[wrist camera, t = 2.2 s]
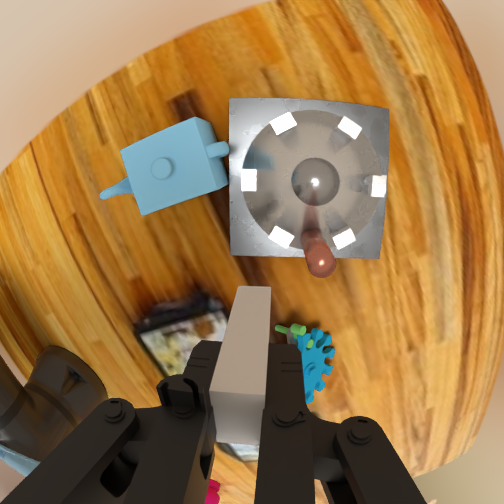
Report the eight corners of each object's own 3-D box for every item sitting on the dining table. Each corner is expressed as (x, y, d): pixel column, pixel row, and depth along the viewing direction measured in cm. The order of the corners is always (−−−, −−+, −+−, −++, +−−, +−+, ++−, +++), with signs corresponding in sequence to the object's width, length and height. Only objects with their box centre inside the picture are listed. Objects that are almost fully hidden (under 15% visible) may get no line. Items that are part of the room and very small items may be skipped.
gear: (338, 383, 33) (285, 427, 27) (305, 370, 38) (251, 406, 32) (337, 308, 31) (275, 346, 25) (299, 300, 36) (237, 330, 30)
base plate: (233, 248, 30) (230, 255, 28) (232, 102, 25) (229, 98, 23) (373, 252, 29) (379, 259, 27) (381, 111, 24) (389, 108, 22)
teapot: (142, 212, 29) (105, 231, 22) (125, 161, 28) (83, 166, 21) (246, 177, 27) (235, 185, 20) (228, 119, 25) (210, 107, 18)
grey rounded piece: (243, 243, 27) (232, 275, 20) (243, 110, 23) (231, 93, 16) (370, 247, 26) (399, 278, 19) (377, 119, 22) (414, 109, 15)
